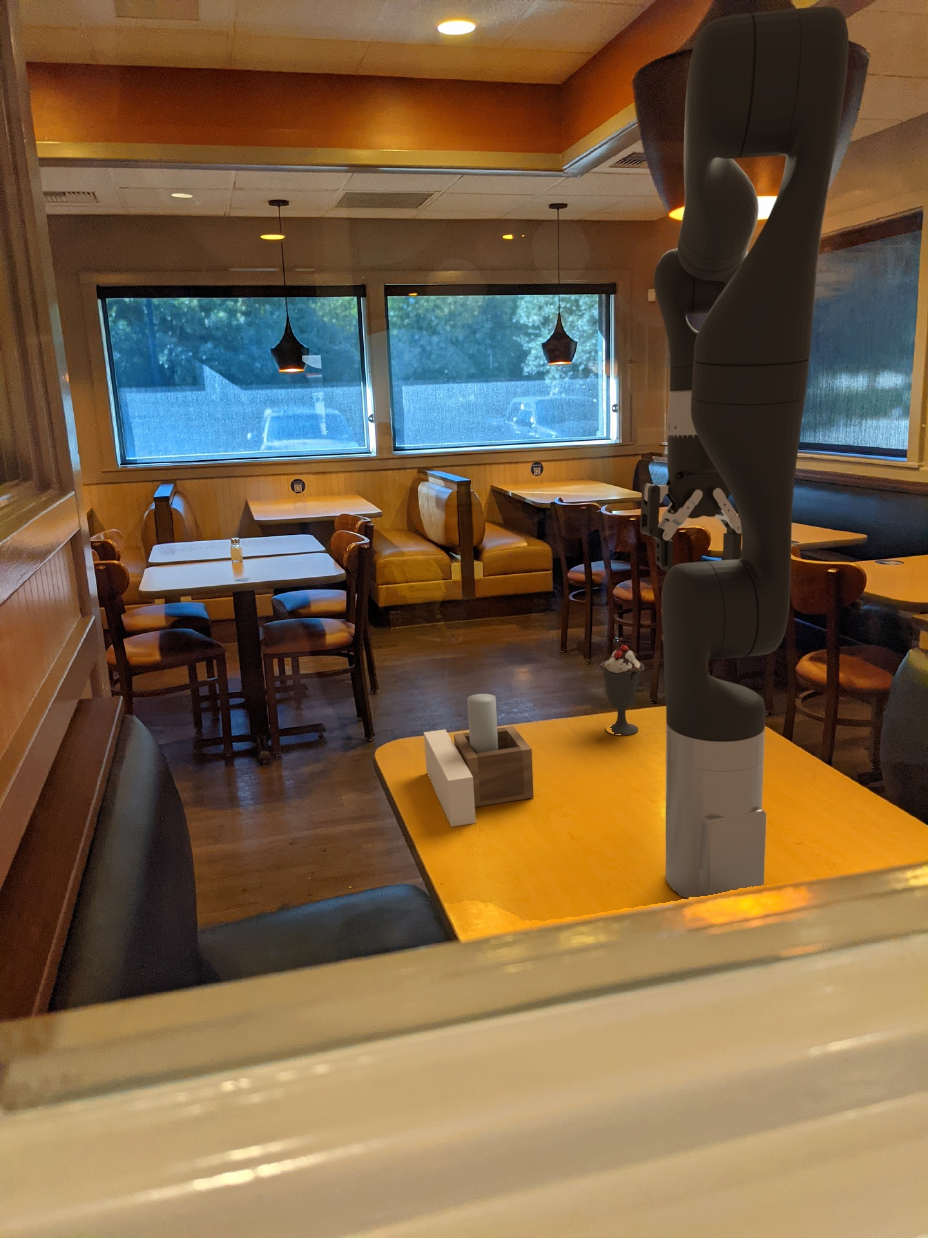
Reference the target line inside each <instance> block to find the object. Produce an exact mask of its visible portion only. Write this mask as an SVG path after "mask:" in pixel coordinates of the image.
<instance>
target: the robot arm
mask: <svg viewBox="0 0 928 1238" xmlns="http://www.w3.org/2000/svg"><path fill="white" fill-rule="evenodd" d="M849 41H850V40H849V28H848V25H847V19H846V17H845V15H844V14H843V12H842V11H841V10H840V9H839V8H837V7H834V6H812V7H811V6H810V7H799V8H787V9H777V10H766V11H755V12H752V13H750V12H747V13H740V14H739V13H737V14H731V15H726V16H723V17H719V18H715V19H713V20H711V21H709V22H708V23H707V24H706V25H705V26H704V27H703V28H702V29H701V31H700V33H698V36H697V38H696V41H695V43H694V46H693V50H692V52H691V58H690V61H689V67H688V75H687V82H686V90H685V101H684V102H685V105H684V129H683V130H684V131H683V132H684V133H683V181H684V182H683V183H684V207H683V213H682V219H681V224H680V228H679V229H680V230H679V235H678V240H677V246H676V247H677V248H673V249H670V250H668V251H666V252H665V253H664V254H663V255H662V256H661V258H659V260H658V262H657V264H656V266H655V269H654V274H653V286H654V287H653V288H654V292H655V296H656V300H657V303H658V307H659V311H660V314H661V317H662V321H663V324H664V329H665V332H666V339H667V343H668V344H667V345H668V350H669V351H668V353H669V399H668V405H667V406H668V407H667V420H666V421H667V422H666V430H667V442H666V443H667V444H666V446H667V449H666V451H667V453H666V455H667V456H666V457H667V458H666V462H667V466H666V469H667V475H668V477H667V480H666V483H665V484H660V485H658V484H651V483H645V484H644V483H643V485H642V487H641V498H640V499H641V501H640V518H639V519H640V521H639V531H640V533H641V534H643V535H647V536H650V537H652V538H653V539H654V541H655V564H656V565H657V566H659V569H660V570H661V571H665V572H667V573H666V574H665V578H664V579H663V584H662V588H661V600H660V601H661V602H660V603H661V604H660V605H661V607H660V608H661V609H660V610H661V628H662V630H661V631H662V641H663V642H662V643H663V644H662V645H663V665H664V666H663V671H664V673H663V674H664V675H663V676H664V677H663V679H664V680H663V681H664V695H665V696H664V697H665V710H666V711H665V715H666V717H665V718H666V719H665V720H666V721H665V722H666V724H665V729H666V730H665V880H666V879H667V881H666V883H667V882H668V883H667V885H668V884H669V885H670V886H671V887H672V889H674V890H675V891H676V892H677V893H678V894H677V893H676V892H675V891H674V892H675V893H676V894H677V895H679V896H680V897H682V898H684V899H686V898H689V897H700V896H708V895H713V894H718V893H722V892H727V891H730V890H737V889H739V888H747V887H751V886H752V887H754V886H761V885H764V886H765V863H766V862H765V861H766V860H765V858H766V839H767V838H766V837H767V836H766V835H767V833H766V831H767V829H766V828H767V812H766V811H765V810H764V809H763V785H764V762H765V761H764V758H765V736H766V735H765V733H766V705H765V704H766V703H765V700H764V699H763V697H762V696H761V695H760V694H759V693H758V692H756V691H754V690H753V689H750V688H749V687H746V686H744V685H741V684H737V683H734V682H731V681H726V680H723V679H720V678H717V677H714V676H713V675H711V674H710V673H709V660H720V659H721V660H723V659H736V658H747V657H757V656H764V655H768V654H771V653H774V652H775V651H776V650H777V649H778V648H779V646H780V645H781V644H782V642H783V640H784V637H785V636H786V635H785V634H786V630H787V626H788V623H789V622H788V621H789V616H790V615H789V614H790V613H789V612H790V606H791V602H790V601H791V585H792V583H791V581H792V580H791V579H792V573H791V572H792V523H793V522H792V521H793V503H794V493H795V492H794V491H795V489H794V488H795V477H796V470H797V461H798V452H799V444H800V435H801V427H802V421H803V417H804V416H803V413H804V408H805V403H806V402H805V401H806V394H807V393H806V392H807V386H808V385H807V384H808V375H809V368H810V367H809V366H810V356H811V345H812V334H813V333H812V332H813V331H812V330H813V317H814V307H815V305H814V304H815V295H816V294H815V293H816V283H817V274H818V273H817V271H818V264H819V263H818V262H819V255H820V246H821V236H822V230H823V223H824V218H825V212H826V205H827V199H828V193H829V188H830V182H831V177H832V170H833V165H834V164H833V163H834V158H835V153H836V147H837V140H838V136H839V135H838V134H839V130H840V124H841V116H842V111H843V105H844V98H845V92H846V85H847V78H848V77H847V76H848V67H849V66H848V65H849V50H850V45H849V44H850V43H849ZM774 156H777V157H778V156H780V157H781V156H785V163H784V171H783V176H782V178H781V182H780V185H779V189H778V192H777V196H776V199H775V202H774V204H773V206H772V209H771V210H770V213H769V215H768V218H767V219H766V221H765V223H764V225H763V227H762V229H761V230H760V232H759V234H758V236H757V237H756V239H755V242H754V243H753V245H752V246H751V248H750V250H749V246H750V244H751V241H752V238H753V235H754V233H755V229H756V226H757V223H758V219H759V211H760V210H759V200H758V195H757V192H756V188H755V186H754V184H753V182H752V181H751V180H750V177H749V176H748V174H746V173H745V171H744V170H743V169H742V168H741V166H740V165H739V164H738V163H737V162H736V161H735V160H736V159H745V158H747V159H748V158H757V157H758V158H759V157H760V158H761V157H774ZM700 314H701V315H702V314H703V315H704V314H706V316H705V318H704V319H703V321H702V324H701V326H700V328H699V329H698V330H696V329H695V328H694V327H693V326H692V325H691V324H690V322H689V319H688V315H700ZM665 496H666V498H667V499H668V501H669V502H670V503H669V504H668V506H667V507H666V509H665V511H664V512H663V513H662V515H661V520H659V519H660V504H661V503H663V501H664V498H665ZM730 496H731V497H732V500H733V501H734V505H735V506H736V510H737V511H736V510H735V509H734V507H733V505H732V504H731V502H730V501H729V498H730ZM701 517H708V518H715V519H718V522H720V524H721V525H722V526H723V528H724V529H725V531H726V532H723V537H722V538H723V540H722V560H721V559H720V560H708V561H694V562H685V563H683V562H682V563H678V564H675V565H674V540H672V538H673V536H674V535H675V533H676V532H677V530H678V529H679V528H680V526H682V525H684V523H685V521H686V520H687V519H699V518H701ZM659 521H660V522H659ZM669 885H668V886H669ZM670 886H669V887H670ZM671 887H670V888H671ZM672 889H671V890H672Z"/></svg>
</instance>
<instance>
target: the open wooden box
mask: <svg viewBox="0 0 928 1238" xmlns="http://www.w3.org/2000/svg"><path fill="white" fill-rule="evenodd" d="M497 736H498V750H494V751H488V752H481V753H475V752H474V751H473V749H472V748H471V746H470V739H469V731H468V732H462V733H455V734H453V743H454V745H455V747H456V749H457V750H458V752H459V754H460V755H461V757H462V759H463V761H464V762H465V764H466V766H467V767H468V769H469V771H470V773H471V774H472V776H473V785H474V803H475V808H476V807H482V806H487V805H488V806H489V805H494V804H501V803H507V802H513V801H519V800H526V799H531V798H532V799H533V798H534V795H535V794H534V774H533V770H534V769H533V748H532V747H531V746H530V745H529V744H528V743H527V741H526V740H525V739H524V738H523V736H522V735H521V734H520V733H519V732H518V730H517V729H516V728H515V726H513V725H512V726H506V727H497Z"/></svg>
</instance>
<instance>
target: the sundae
mask: <svg viewBox="0 0 928 1238" xmlns="http://www.w3.org/2000/svg"><path fill="white" fill-rule="evenodd" d="M622 640H623V638H622V637H619V639H618V643H617V647H616V649H615V650H614V651H613V652H612V653H611V655H610V657H609V658H608V659H607V660H605V661H603V662H601V663H600V664H599V666H598V669H600V670H601V671H602V674H603V678H604V685H605V691H606V692H605V693H606V695H607V701H608V702H609V703H610V704H611V705H612V706H613V707H615V708H616V709H617V718H616V721H615V722H614V723H615V724H613V723H612V724H613V725H612V726H611V727H610V728H612V729H611V730H612V732H614V734H621V735H624V736H623V737H626V736H625V735H628V736H632V735H634V734H636V732H637V733H638V731H639V728H638V726H636V725H635V724H633V723H630V724H629V722H628V721H627V717H626V710H627V708H629V707H630V706H632V704H633V703H634V702H635V699H636V696H637V690H638V681H639V675H640V673H642V672H643V671H644V670H645V666H644V663H643V662H640V661H639V660H637V653H636V652H634V651H632V650H631V649H630V648H629V647H628V646H627V645H625V644H623V643H622ZM620 644H621V646H620V647H619V645H620Z"/></svg>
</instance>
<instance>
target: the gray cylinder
mask: <svg viewBox="0 0 928 1238" xmlns="http://www.w3.org/2000/svg"><path fill="white" fill-rule="evenodd" d="M466 704H467V717H468V718H467V720H468V732H469V739H470V746H471V748H472V749H473V751H474V752H475V753H481V752H488V751H494V750H498V736H497V728H498V720H497V715H498V714H497V699H496V696H495V695H494V694H490V693H477V694H473V695H470V696H468V697H467V702H466Z"/></svg>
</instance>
